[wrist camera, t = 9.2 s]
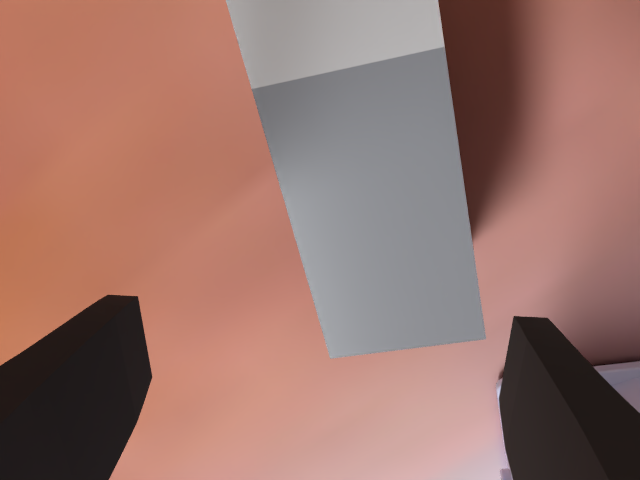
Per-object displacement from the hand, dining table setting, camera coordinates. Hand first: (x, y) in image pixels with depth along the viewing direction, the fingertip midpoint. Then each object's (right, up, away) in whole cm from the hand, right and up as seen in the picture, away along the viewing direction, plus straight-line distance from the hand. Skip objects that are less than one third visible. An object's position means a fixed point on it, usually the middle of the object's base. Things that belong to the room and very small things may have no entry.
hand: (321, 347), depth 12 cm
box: (+2, +6, +7) cm, 10 cm away
